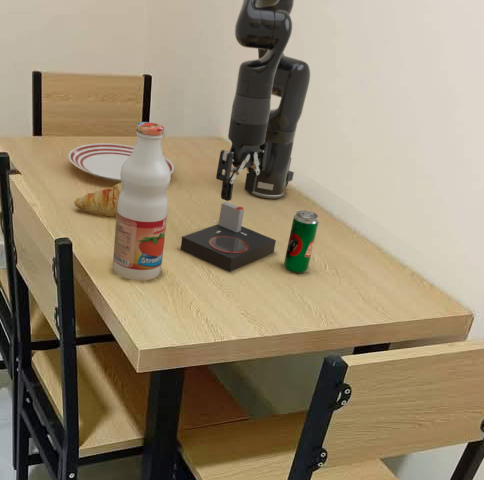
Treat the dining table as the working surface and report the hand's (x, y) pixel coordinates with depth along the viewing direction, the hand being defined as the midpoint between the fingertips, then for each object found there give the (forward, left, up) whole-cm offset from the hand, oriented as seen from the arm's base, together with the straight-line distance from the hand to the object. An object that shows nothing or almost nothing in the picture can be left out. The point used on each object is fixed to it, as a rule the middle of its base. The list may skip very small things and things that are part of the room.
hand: (237, 195), depth 156 cm
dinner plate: (-12, -45, -11) cm, 48 cm away
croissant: (+8, -26, -11) cm, 29 cm away
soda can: (0, +17, -11) cm, 20 cm away
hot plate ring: (+8, +5, -8) cm, 12 cm away
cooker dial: (0, -1, -7) cm, 8 cm away
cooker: (+5, +3, -11) cm, 12 cm away
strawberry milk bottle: (+28, -2, -11) cm, 30 cm away
